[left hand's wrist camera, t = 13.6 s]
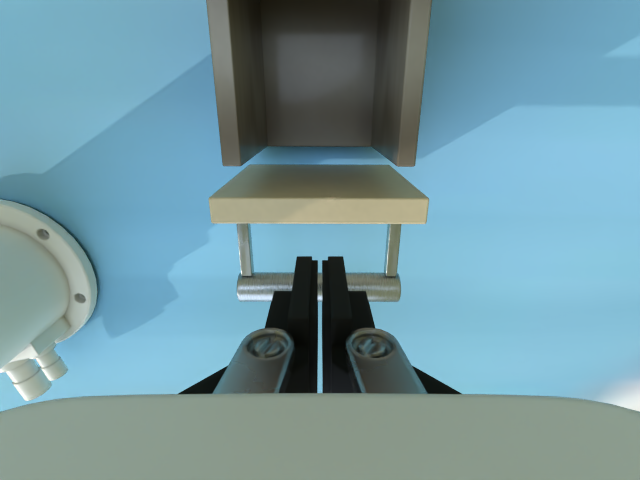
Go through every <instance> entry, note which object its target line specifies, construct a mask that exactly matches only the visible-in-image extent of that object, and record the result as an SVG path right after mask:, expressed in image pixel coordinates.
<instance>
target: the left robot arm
mask: <svg viewBox="0 0 640 480" xmlns="http://www.w3.org/2000/svg"><path fill="white" fill-rule="evenodd" d="M96 300H97V283H96V277H95V274H94V271H93V268H92V265H91V263H90V261H89V259H88V258H87V256H86V254H85V252H84V251H83V249H82V248H81V247H80V245H79V244H78V243H77V242H76V240H75V239H74V238H73V237H72V236H71V235H70V234H69V233H68V232H67V231H66V230H65V229H64V228H63V227H62V226H60V225H59V224H57V223H56V222H55V221H53V220H52V219H50V218H49V217H48V216H46V215H44V214H42V213H40V212H38V211H36V210H34V209H32V208H31V207H28V206H25V205H22V204H19V203H16V202H13V201H7V200H1V199H0V373H2V372H6V373H7V374H8V375H9V377H10V378H11V380H12V381H13V382H12V383H13V385H14V386H15V387H16V389H17V390H18V391H19V393H20V394H21V395H22V397H23V398H24V399H25V400H26V401H29V400H32V399H35V398H37V397H39V396H40V395H42V394H44V393H45V392H46V391H47V390H48V389H49V388H50V387H51V385H52V384H51V382H50V381H53V380H55V379H58V378H60V377H61V376H63V375H64V374H65V373H66V372H67V371H68V368H67V367H66V365H65V364H64V362H63V361H62V359H61V357H60V356H58V355H57V353H56V352H55V350H54V348H55V346H56V343H59V342H61V341H64V340H66V339H67V338H69V337H70V336H72V335H73V334H75V333H76V332H77V331H78V330H79V329H80V328H81V327H82V326H84V325H85V324H86V322H87V321H88V319H89V318H90V317H91V315H92V313H93V310H94V308H95V305H96ZM33 359H36V360H37V362H38V363H39V364H40V366H41V367H38V365H37V364H36V363H35V361H34V360H33ZM317 363H318V260H312V257H297V260H296V266H295V273H294V279H293V286H292V291H274V293H273V297H272V301H271V305H270V309H269V313H268V317H267V321H266V325H265V328H264V329H259V330H257V331H254V332H252V333H250V334H249V335H247V336H246V337H245V338H244V340H243V341H242V342H241V344H240V346H239V348H238V349H237V351H236V353H235V355H234V357H233V358H232V360H231V362H230V364H229V365H228V366H227V367H225V368H223V369H221V370H220V371H218V372H216V373H214V374H212V375H211V376H209V377H207V378H205V379H204V380H202V381H200V382H198V383H196V384H195V385H193V386H191V387H189V388H188V389H186V390H184V391H182V392H180V393H179V394H160V395H110V396H83V397H73V398H62V399H54V400H49V401H43V402H38V403H32V404H27V405H24V406H20V407H16V408H13V409H9V410H5V411H2V412H0V480H640V412H638V411H635V410H631V409H627V408H624V407H620V406H616V405H613V404H608V403H602V402H597V401H591V400H586V399H578V398H567V397H557V396H530V395H487V394H461V393H460V392H458V391H456V390H454V389H452V388H451V387H449V386H447V385H445V384H444V383H442V382H440V381H438V380H436V379H435V378H433V377H431V376H429V375H428V374H426V373H424V372H422V371H420V370H419V369H417V368H415V367H413V366H412V365H411V364H410V362H409V360H408V358H407V357H406V355H405V353H404V351H403V349H402V348H401V346H400V344H399V342H398V341H397V340H396V338H395V337H394V336H393V335H391V334H390V333H388V332H386V331H383V330H381V329H376V328H375V325H374V321H373V317H372V313H371V309H370V305H369V301H368V297H367V293H366V291H348V286H347V279H346V273H345V266H344V260H343V257H328V260H322V363H323V393H317Z"/></svg>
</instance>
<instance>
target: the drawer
mask: <svg viewBox="0 0 640 480" xmlns="http://www.w3.org/2000/svg"><path fill="white" fill-rule="evenodd" d="M206 3H207V13H208V23H209V33H210V43H211V53H212V63H213V73H214V83H215V93H216V103H217V113H218V123H219V133H220V143H221V153H222V163H223V166H242V165H243V164H244V163H246V162H247V161H248V160H250V159H251V158H252V157H254V156H255V155H256V154H258V153H259V152H260V151H262V150H263V149H264V148H266V147H267V146H332V147H373V148H374V149H375V150H377V151H378V152H379V153H381V154H382V155H383V156H385V157H386V158H387V159H389V160H390V161H391V162H392V163H394V164H395V165H396V166H402V167H413V166H415V161H416V151H417V142H418V132H419V122H420V112H421V103H422V93H423V83H424V73H425V63H426V54H427V44H428V34H429V24H430V15H431V5H432V0H206ZM428 205H429V198H428V197H427V196H425V195H424V194H423V193H422V192H421V191H419V190H418V189H417V188H416V187H415V186H413V185H412V184H411V183H410V182H409V181H407V180H406V179H405V178H404V177H403V176H402V175H400V174H399V173H398V172H397V171H396V170H394V169H393V168H392V167H391V166H390V165H249V166H247V167H246V168H245V169H244V170H242V171H241V172H240V173H239V174H238V175H236V176H235V177H234V178H233V179H231V180H230V181H229V182H228V183H227V184H225V185H224V186H223V187H222V188H220V189H219V190H218V191H217V192H216V193H214V194H213V195H212V196H211V197H209V206H210V214H211V222H212V223H237V233H238V244H239V255H240V266H241V273H240V274H239V276H238V281H237V296H238V300H239V301H242V302H271V301H272V297H273V293H274V291H292V286H293V279H294V273H254V267H253V254H252V241H251V228H250V223H284V224H388V228H387V241H386V254H385V266H384V273H346V279H347V286H348V291H366V293H367V297H368V301H369V302H398V301H399V299H400V295H401V282H400V277H399V275H398V273H397V265H398V254H399V243H400V233H401V224H425V223H426V221H427V213H428ZM318 302H322V273H318Z"/></svg>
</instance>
